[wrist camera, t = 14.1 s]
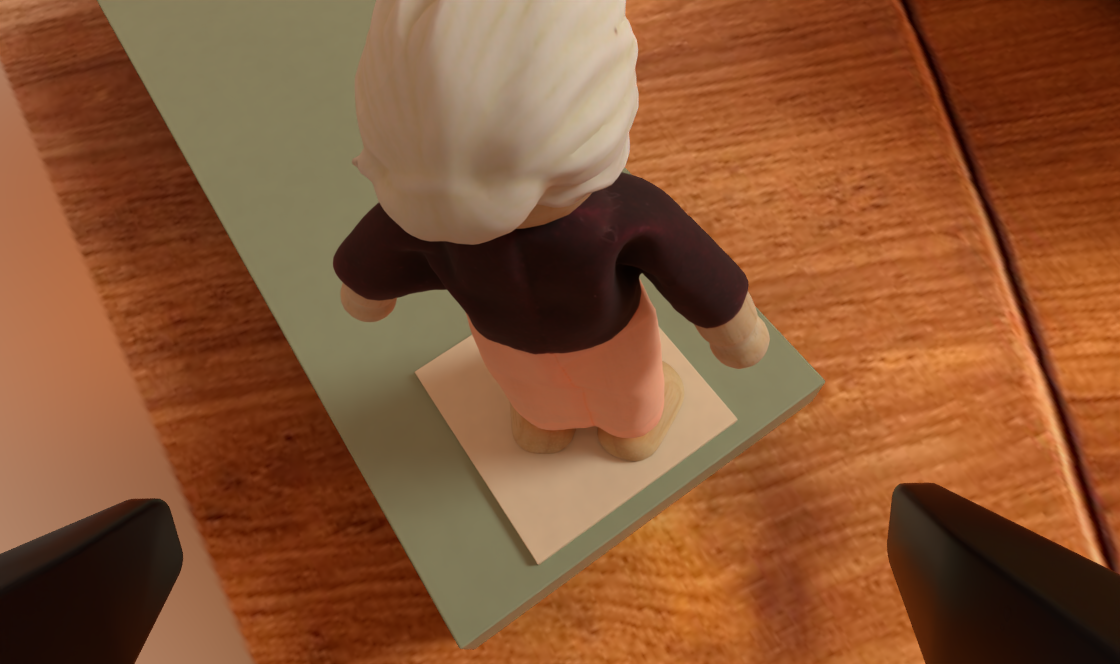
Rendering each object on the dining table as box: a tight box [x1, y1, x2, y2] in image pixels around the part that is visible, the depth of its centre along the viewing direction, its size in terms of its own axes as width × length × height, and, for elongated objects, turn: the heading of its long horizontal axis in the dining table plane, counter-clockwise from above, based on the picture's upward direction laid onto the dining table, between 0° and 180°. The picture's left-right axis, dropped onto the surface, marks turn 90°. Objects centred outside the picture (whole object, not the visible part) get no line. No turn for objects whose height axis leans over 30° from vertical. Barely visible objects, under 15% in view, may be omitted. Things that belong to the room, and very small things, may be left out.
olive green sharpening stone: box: [97, 0, 825, 650], centre depth 25 cm, size 32×11×4 cm, turn 34°
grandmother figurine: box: [333, 0, 770, 461], centre depth 12 cm, size 8×4×13 cm, turn 93°
